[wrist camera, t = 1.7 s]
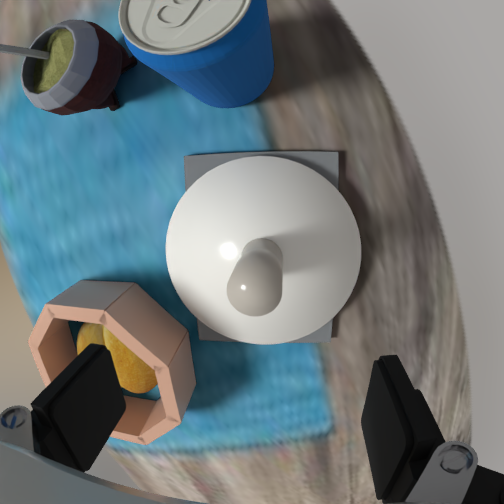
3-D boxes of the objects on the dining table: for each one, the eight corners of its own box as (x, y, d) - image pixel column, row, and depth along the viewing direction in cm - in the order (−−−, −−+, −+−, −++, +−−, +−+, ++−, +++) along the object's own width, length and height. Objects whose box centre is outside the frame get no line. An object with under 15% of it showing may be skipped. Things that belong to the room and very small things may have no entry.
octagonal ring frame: (49, 278, 27) (14, 299, 22) (182, 283, 25) (158, 314, 20) (84, 393, 31) (62, 421, 26) (201, 414, 30) (189, 452, 24)
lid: (162, 162, 22) (118, 164, 16) (361, 157, 21) (392, 156, 14) (180, 335, 26) (152, 384, 20) (350, 338, 25) (367, 390, 18)
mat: (186, 156, 23) (183, 156, 22) (336, 152, 21) (338, 152, 21) (201, 336, 27) (199, 339, 26) (329, 338, 26) (330, 342, 25)
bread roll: (172, 386, 29) (159, 412, 25) (98, 374, 30) (81, 396, 26) (157, 314, 27) (140, 337, 23) (78, 308, 28) (56, 326, 24)
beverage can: (290, 54, 20) (294, -35, 8) (246, 125, 22) (207, 88, 10) (215, 21, 19) (164, -67, 8) (172, 88, 21) (84, 40, 10)
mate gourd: (154, 91, 21) (15, 36, 7) (79, 139, 23) (-68, 144, 9) (127, 24, 20) (10, -50, 5) (59, 73, 21) (-70, 48, 7)
